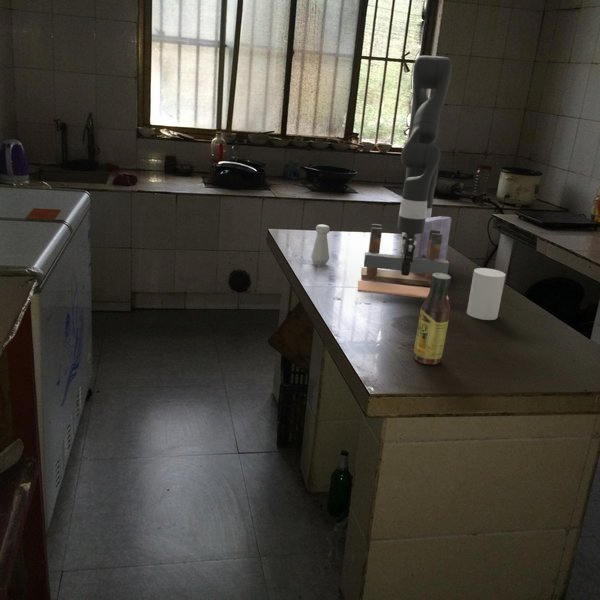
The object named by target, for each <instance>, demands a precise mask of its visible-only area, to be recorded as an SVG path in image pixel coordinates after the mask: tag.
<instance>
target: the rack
mask: <svg viewBox="0 0 600 600" xmlns="http://www.w3.org/2000/svg"><path fill="white" fill-rule="evenodd" d="M382 233H383V228H382V224H377V223H371V227H370V237H369V244H368V246H369V247H368V253H378V254H380V252H381V251H380V250H381V241H382ZM441 241H442V234H440V230H430V234H429V241H428V248H427V255H426V258H429V259H439V254H440V248H441ZM360 273H361V274H360V278H361V280H363V281H365V280H366V281H373V282H383V283H393V284H395V283H396V284H403V285H404V284H405V285H413V284H414V285H413V286H423V285H425V286H426V287H431V277H432V274H430V273H424V274H421V273H411V272H409V275H408V276H405V275H402V274H401V271H400V270H390V269H380V268H370V267H361V271H360Z"/></svg>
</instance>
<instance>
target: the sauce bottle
mask: <svg viewBox="0 0 600 600" xmlns="http://www.w3.org/2000/svg"><path fill="white" fill-rule="evenodd" d="M451 280H452V277H451V275H449V274H448V273H447V274H443V273H434V274H432V277H431V286H429V288H430V291H429V294H428V296H427V298H425V299H424V301H423V304H422V305H421V307H420V311H419V312H420V313H419V317H418V322H417V323H418V324H417V330H416V337H415V340H414V341H415V343H414V346H413V352H414V353H413V358H414V360H416V361H417V362H419V363H420V364H422V365H423V364H424V365H430V366H431V365H432V366H433V365H438V364H439V363H440V362H441V358H442V356H443V352H444V347H445V343H446V336H447V331H448V325H449V320H450V319H449V318H450V317H449V316H450V312H451V305H450V302H449V300H447V296H448V294H449V293H448V292H449V286H450V284H451V282H452V281H451Z"/></svg>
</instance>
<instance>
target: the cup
mask: <svg viewBox="0 0 600 600" xmlns="http://www.w3.org/2000/svg"><path fill="white" fill-rule="evenodd" d="M471 279H472V281H471V285H470V292H469V297H468V303H467V308H466V309H467V310H466V314H467V315H468V316H469V317H472V318H475V319H478V320H483V321H486V320H487V321H492V320H493V321H495V320H496V319H498V315H499V311H500V305H501V300H502V295H503V291H504V284H505V280H506V273H504V272H503V271H500V270H498V269H495V268H494V269H493V268H488V267H487V268H486V267H478V268H474V270H473V274H472V278H471Z"/></svg>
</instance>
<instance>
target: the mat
mask: <svg viewBox="0 0 600 600" xmlns="http://www.w3.org/2000/svg"><path fill="white" fill-rule="evenodd" d="M357 291H358V292H361V291H364V292H365V293H371V292H373V293H374V294H380V295H381V294H384V295H392V296H403V297H412V298H420V297H421V299H426V298H427V296H428V294H429V291H430V287H427V286H426V287H424V286H417V285H407V284H405V285H404V284H398V283H396V284H395V283H388V282H378V281H368V280H366V281H365V280H357ZM364 292H363V293H364ZM373 293H372V294H373ZM447 300H448V301H449V300H450V298H449V296H448V295H447Z"/></svg>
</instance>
